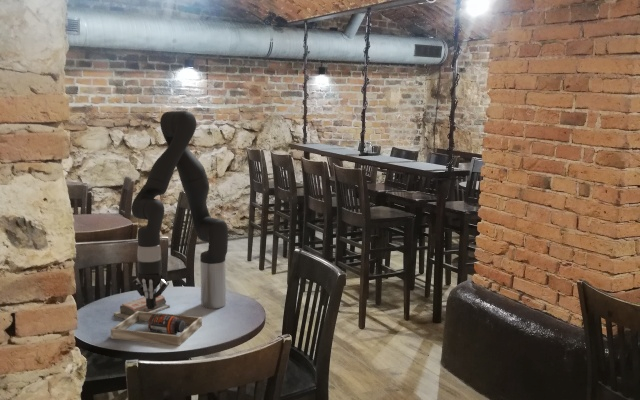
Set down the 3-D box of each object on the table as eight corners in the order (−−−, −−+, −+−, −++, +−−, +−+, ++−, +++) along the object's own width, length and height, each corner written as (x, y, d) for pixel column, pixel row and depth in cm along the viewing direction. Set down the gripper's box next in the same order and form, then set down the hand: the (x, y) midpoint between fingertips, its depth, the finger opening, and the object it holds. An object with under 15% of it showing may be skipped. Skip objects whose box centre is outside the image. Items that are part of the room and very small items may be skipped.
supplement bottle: (152, 310, 215) (183, 313, 212) (158, 320, 219) (188, 324, 216) (145, 324, 211) (176, 328, 208) (150, 335, 215) (181, 339, 212)
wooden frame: (137, 319, 226) (137, 311, 226) (201, 325, 221) (201, 317, 221) (111, 338, 209) (110, 329, 208) (179, 345, 204) (179, 336, 203)
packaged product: (151, 291, 244) (170, 296, 238) (151, 303, 244) (170, 308, 239) (112, 303, 229) (131, 309, 223) (113, 316, 230) (132, 322, 224)
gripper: (173, 256, 213) (174, 306, 217) (136, 253, 216) (138, 303, 219) (162, 262, 206) (164, 314, 209) (125, 259, 209) (127, 310, 212)
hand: (151, 308), depth 214 cm, fingers closed
